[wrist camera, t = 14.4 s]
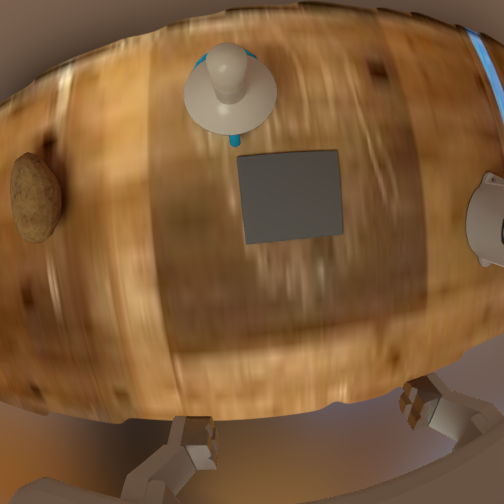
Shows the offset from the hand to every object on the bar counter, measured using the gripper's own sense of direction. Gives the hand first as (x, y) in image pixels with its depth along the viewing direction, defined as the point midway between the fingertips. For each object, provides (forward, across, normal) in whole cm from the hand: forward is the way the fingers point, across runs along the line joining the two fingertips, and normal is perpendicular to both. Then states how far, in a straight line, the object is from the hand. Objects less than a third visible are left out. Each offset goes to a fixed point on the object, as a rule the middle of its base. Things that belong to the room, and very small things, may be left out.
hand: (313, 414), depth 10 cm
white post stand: (+23, +2, -19) cm, 30 cm away
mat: (+31, -5, -6) cm, 32 cm away
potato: (+31, +33, -12) cm, 47 cm away
